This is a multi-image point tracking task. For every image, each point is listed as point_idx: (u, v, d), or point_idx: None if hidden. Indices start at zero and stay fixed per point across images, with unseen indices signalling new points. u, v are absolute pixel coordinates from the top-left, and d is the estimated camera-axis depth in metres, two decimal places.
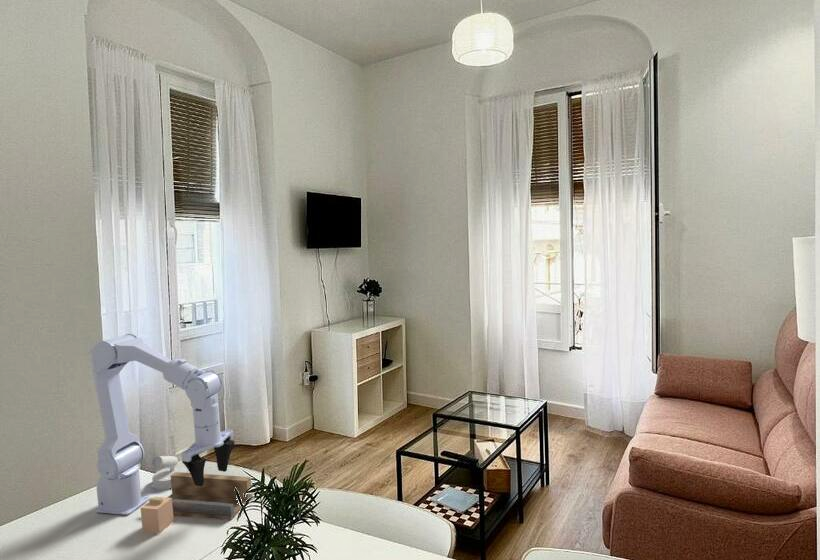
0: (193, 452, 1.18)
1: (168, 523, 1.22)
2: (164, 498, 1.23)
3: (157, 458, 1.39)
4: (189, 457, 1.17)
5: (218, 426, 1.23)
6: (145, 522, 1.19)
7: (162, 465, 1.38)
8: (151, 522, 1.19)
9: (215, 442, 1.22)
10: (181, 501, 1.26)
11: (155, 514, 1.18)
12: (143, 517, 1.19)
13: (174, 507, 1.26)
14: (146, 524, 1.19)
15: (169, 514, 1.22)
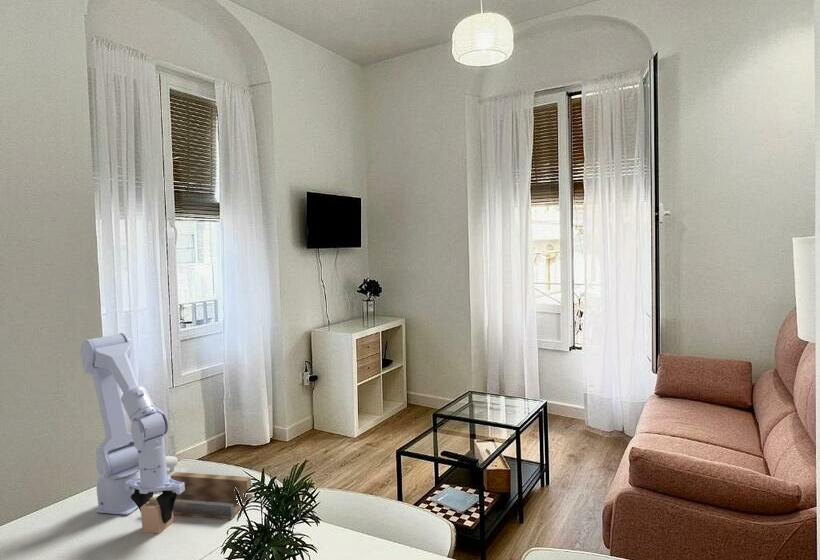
0: (129, 484, 1.21)
1: (168, 523, 1.22)
2: None
3: None
4: (126, 486, 1.21)
5: (148, 473, 1.17)
6: (145, 522, 1.19)
7: None
8: (151, 522, 1.19)
9: (143, 487, 1.18)
10: (181, 501, 1.26)
11: (155, 514, 1.18)
12: (143, 517, 1.19)
13: (174, 507, 1.26)
14: (146, 523, 1.19)
15: None
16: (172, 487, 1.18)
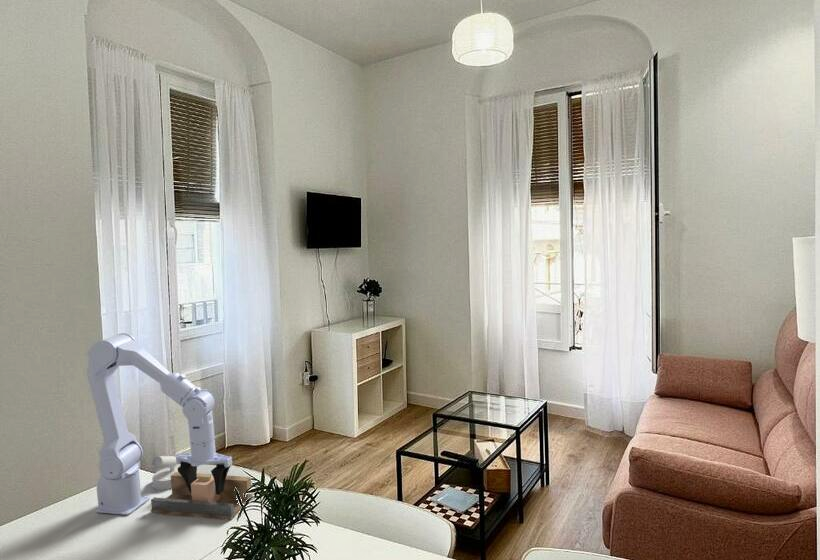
0: (180, 458, 1.29)
1: (215, 499, 1.30)
2: (211, 476, 1.32)
3: (157, 458, 1.39)
4: (177, 460, 1.30)
5: (199, 447, 1.26)
6: (195, 498, 1.28)
7: (162, 465, 1.38)
8: (201, 497, 1.28)
9: (194, 460, 1.27)
10: (181, 501, 1.26)
11: (205, 490, 1.27)
12: (193, 493, 1.28)
13: (174, 507, 1.26)
14: (196, 499, 1.28)
15: None
16: (221, 460, 1.27)
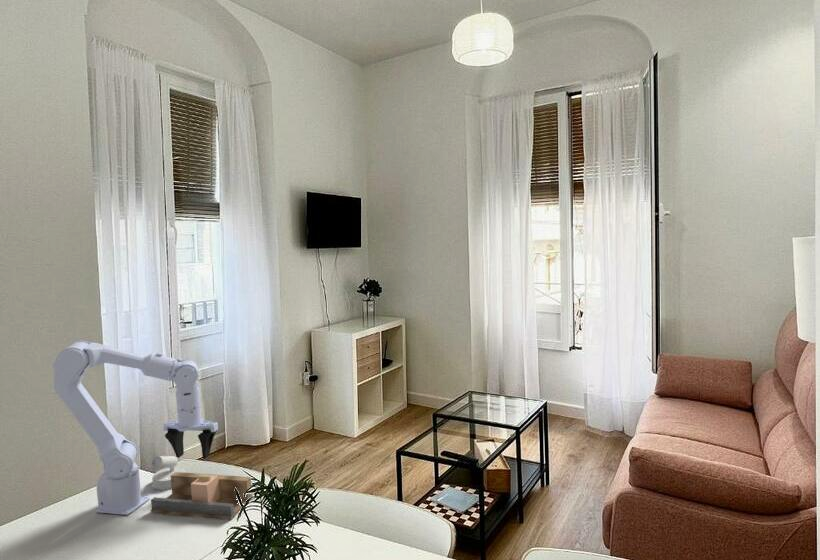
0: (167, 425, 1.35)
1: (215, 499, 1.30)
2: (211, 476, 1.32)
3: (157, 458, 1.39)
4: (164, 427, 1.36)
5: (186, 413, 1.32)
6: (195, 498, 1.28)
7: (162, 465, 1.38)
8: (201, 497, 1.28)
9: (182, 426, 1.33)
10: (181, 501, 1.26)
11: (205, 490, 1.27)
12: (193, 493, 1.28)
13: (174, 507, 1.26)
14: (196, 499, 1.28)
15: (216, 490, 1.31)
16: (207, 426, 1.33)
